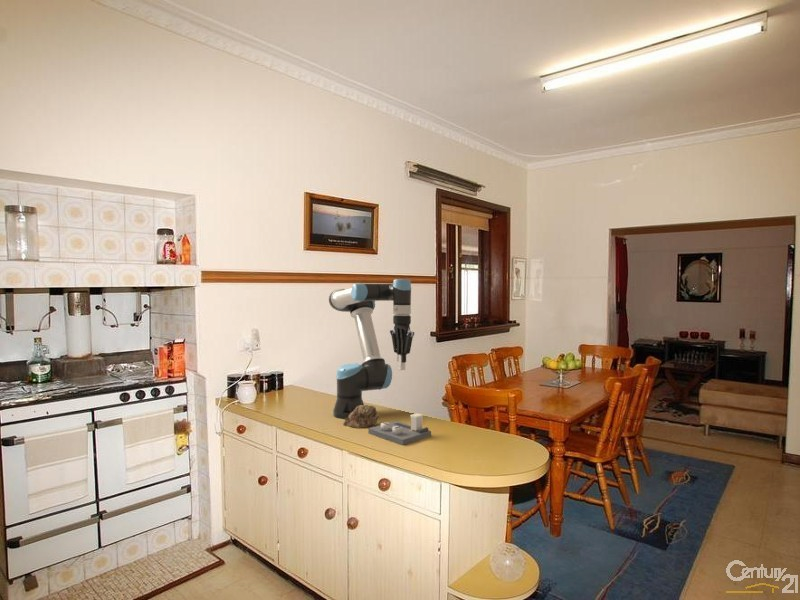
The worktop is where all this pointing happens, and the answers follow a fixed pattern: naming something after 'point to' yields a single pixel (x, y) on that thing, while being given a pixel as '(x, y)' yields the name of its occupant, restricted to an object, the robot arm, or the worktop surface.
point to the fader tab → (416, 421)
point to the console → (399, 432)
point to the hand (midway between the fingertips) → (401, 369)
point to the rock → (362, 417)
